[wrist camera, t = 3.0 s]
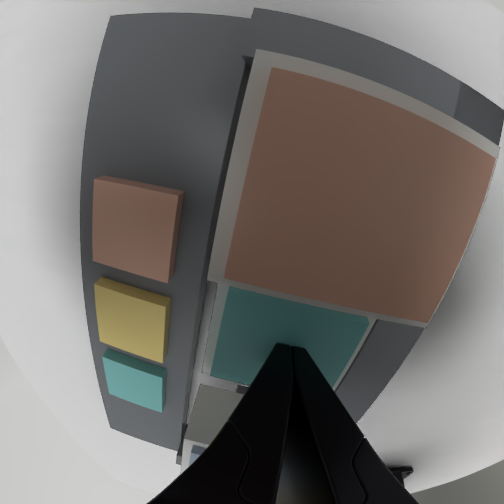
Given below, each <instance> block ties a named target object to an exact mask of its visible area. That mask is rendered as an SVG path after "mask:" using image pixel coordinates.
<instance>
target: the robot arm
mask: <svg viewBox="0 0 504 504" xmlns="http://www.w3.org/2000/svg"><path fill="white" fill-rule="evenodd" d="M411 473H413V468H412V467H410V468H400V469H388V468H387V467H386V465H385V464H384V463H383V462H382V460H381V459H380V458H379V456H378V455H377V453H376V452H375V451H374V449H373V448H372V446H371V445H370V443H369V442H368V441H367V439H366V438H364V435H363V433H362V432H361V430H360V429H359V427H358V426H357V424H356V423H355V421H354V420H353V418H352V417H351V416H350V414H349V413H348V411H347V410H346V408H345V407H344V405H343V404H342V402H341V401H340V399H339V398H338V396H337V395H336V393H335V392H334V390H333V389H332V387H331V386H330V384H329V383H328V381H327V380H326V378H325V377H324V375H323V374H322V372H321V371H320V369H319V368H318V366H317V365H316V363H315V362H314V360H313V359H312V357H311V356H310V354H309V353H308V351H307V350H306V349H305V348H303V347H298V346H290V345H288V344H283V343H276V344H275V345H274V347H273V349H272V350H271V352H270V354H269V355H268V357H267V359H266V360H265V362H264V364H263V365H262V367H261V368H260V370H259V372H258V373H257V375H256V377H255V378H254V380H253V381H252V383H251V384H250V386H249V388H248V389H247V391H246V392H245V394H244V395H243V397H242V399H241V400H240V402H239V403H238V405H237V406H236V408H235V409H234V411H233V412H232V414H231V415H230V417H229V418H228V420H227V422H225V424H224V425H223V427H222V428H221V430H220V431H219V433H218V434H217V435H216V437H215V438H214V439H213V441H212V442H211V443H210V445H209V446H208V447H207V448H206V449H205V450H204V451H203V452H202V454H201V455H200V456H199V457H198V458H197V459H196V460H195V461H194V462H193V463H192V464H191V465H190V466H189V467H188V468H187V469H186V470H185V471H184V472H183V473H182V474H180V475H179V476H178V477H177V478H176V479H175V480H174V481H173V482H172V483H171V484H170V485H169V486H167V487H166V488H165V489H164V490H163V491H162V492H161V493H160V494H158V495H157V496H156V497H155V498H153V499H152V500H151V501H150V502H148V503H147V504H419V503H418V502H417V501H416V500H415V499H414V498H413V497H412V495H411V494H410V493H409V492H408V491H407V490H406V489H405V486H404V481H403V479H404V478H406V477H407V476H409V475H410V474H411Z"/></svg>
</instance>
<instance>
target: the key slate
mask: <svg viewBox="0 0 504 504" xmlns="http://www.w3.org/2000/svg"><path fill="white" fill-rule="evenodd" d="M248 388H249V387H244V386H240V385H238V386H237V390H236V393H235V392H231V391H227V390H222V389H218V388H214V387H210V386H206V385H202V384H200V387H199V390H198V393H197V397H196V400H195V403H194V407H193V410H192V413H191V417H190V420H189V423H188V427H187V430H186V434H185V437H184V443H183V452H182V462H181V472H180V474H182V473H183V472H184V471H185V470H186V469H187V468H188V467H189V466H190V465H191V464H192V463H193V462H194V461H195V460H196V459H197V458H198V457H199V456H200V455H201V454H202V452H203V451H204V450H205V449H206V448H207V447H208V446H209V445H210V443H211V442H212V441H213V439H214V438H215V437H216V435H217V434H218V433H219V431H220V430H221V428H222V427H223V425H224V424H225V422H227V420H228V418H229V417H230V415H231V414H232V412H233V411H234V409H235V408H236V406H237V405H238V403H239V402H240V400H241V399H242V397H243V395H244V394H245V392H246V391H247V389H248Z"/></svg>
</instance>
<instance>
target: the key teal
mask: <svg viewBox="0 0 504 504" xmlns="http://www.w3.org/2000/svg"><path fill="white" fill-rule="evenodd" d="M375 321H376V319H375V318H370V317H365V316H360V315H355V314H350V313H345V312H341V311H336V310H331V309H326V308H322V307H317V306H313V305H308V304H304V303H299V302H295V301H290V300H286V299H282V298H277V297H273V296H269V295H265V294H261V293H256V292H252V291H248V290H244V289H240V288H236V287H232V286H228V285H224V284H220V283H218V286H217V291H216V296H215V301H214V307H213V312H212V317H211V323H210V328H209V333H208V339H207V344H206V350H205V356H204V361H203V367H202V373H206V374H210V376H213V377H217V378H222V379H226V380H230V381H234V382H239V383H243V384H248V385H250V384H251V383H252V381H253V380H254V378H255V377H256V375H257V373H258V372H259V370H260V368H261V367H262V365H263V364H264V362H265V360H266V359H267V357H268V355H269V354H270V352H271V350H272V349H273V347H274V345H275V344H276V343H283V344H288V345H290V346H298V347H303V348H305V349H306V350H307V351H308V353H309V354H310V356H311V357H312V359H313V360H314V362H315V363H316V365H317V366H318V368H319V369H320V371H321V372H322V374H323V375H324V377H325V378H326V380H327V381H328V383H329V384H330V386H331V387H332V389H333V390H334V391H335V389H336V388H337V386H338V384H339V383H340V381H341V380H342V378H343V377H344V375H345V373H346V372H347V370H348V368H349V367H350V365H351V363H352V362H353V360H354V358H355V357H356V355H357V353H358V352H359V350H360V348H361V346H362V345H363V343H364V341H365V339H366V337H367V336H368V334H369V332H370V330H371V328H372V326H373V325H374V323H375Z"/></svg>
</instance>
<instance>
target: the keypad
mask: <svg viewBox="0 0 504 504" xmlns="http://www.w3.org/2000/svg"><path fill="white" fill-rule="evenodd" d="M256 49H260V50H265V51H271V52H275V53H280V54H285V55H289V56H293V57H298V58H302V59H305V60H309V61H313V62H317V63H320V64H324V65H327V66H331V67H334V68H337V69H340V70H343V71H346V72H349V73H352V74H355V75H358V76H361V77H364V78H366V79H369V80H372V81H374V82H377V83H380V84H382V85H385V86H387V87H390V88H392V89H394V90H397V91H399V92H401V93H404V94H406V95H408V96H410V97H412V98H415V99H417V100H419V101H421V102H423V103H425V104H427V105H429V106H431V107H433V108H435V109H437V110H439V111H441V112H443V113H445V114H446V115H448V116H450V117H452V118H454V119H456V120H457V121H459V122H461V123H463V124H464V125H466V126H468V127H469V128H471V129H473V130H474V131H476V132H478V133H479V134H481V135H482V136H484V137H485V138H487V139H488V140H490V141H491V142H493V143H494V144H496V145H497V146H499V141H500V137H501V132H502V127H503V121H504V110H503V109H501V108H500V107H499V106H497V105H496V104H494V103H493V102H492V101H490V100H489V99H487V98H486V97H484V96H483V95H482V94H480V93H479V92H477V91H476V90H474V89H472V88H471V87H469V86H468V85H466V84H465V83H463V82H461V81H460V80H458V79H456V78H455V77H453V76H451V75H449V74H448V73H446V72H444V71H442V70H441V69H439V68H437V67H435V66H433V65H431V64H429V63H427V62H425V61H423V60H421V59H419V58H417V57H415V56H413V55H411V54H409V53H407V52H405V51H402V50H400V49H398V48H396V47H393V46H391V45H388V44H386V43H384V42H381V41H379V40H376V39H373V38H371V37H368V36H365V35H363V34H360V33H357V32H354V31H351V30H348V29H345V28H342V27H338V26H335V25H332V24H328V23H325V22H321V21H317V20H314V19H310V18H306V17H301V16H297V15H293V14H288V13H283V12H278V11H272V10H266V9H260V8H254V10H253V14H252V17H251V19H249V18H242V17H234V16H224V15H213V14H198V13H142V14H126V15H116V16H110V19H109V23H108V26H107V29H106V33H105V36H104V40H103V43H102V47H101V51H100V55H99V59H98V63H97V68H96V72H95V77H94V82H93V87H92V92H91V98H90V103H89V110H88V116H87V123H86V131H85V139H84V149H83V160H82V174H81V195H80V243H81V264H82V278H83V290H84V300H85V308H86V316H87V323H88V330H89V336H90V342H91V348H92V354H93V359H94V364H95V369H96V374H97V378H98V383H99V387H100V391H101V395H102V399H103V403H104V407H105V410H106V414H107V417H108V421H109V424H110V427H111V428H112V429H115V430H117V431H120V432H122V433H125V434H127V435H130V436H133V437H136V438H138V439H141V440H144V441H147V442H150V443H153V444H156V445H159V446H162V447H165V448H168V449H172V450H175V451H178V453H177V458H176V464H179V465H181V462H182V452H183V443H184V437H185V434H186V430H187V427H188V425H186V420H187V412H188V404H189V396H190V389H191V381H192V374H193V367H194V360H195V353H196V346H197V340H198V333H199V327H200V321H201V314H202V308H203V302H204V296H205V290H206V284H207V276H208V270H209V264H210V259H211V253H212V248H213V242H214V237H215V232H216V226H217V221H218V216H219V211H220V206H221V201H222V196H223V191H224V186H225V181H226V176H227V172H228V167H229V162H230V158H231V153H232V148H233V144H234V139H235V135H236V130H237V126H238V122H239V117H240V113H241V109H242V104H243V100H244V96H245V92H246V88H247V84H248V80H249V76H250V72H251V68H252V64H253V60H254V56H255V52H256ZM423 330H424V328H423V327H417V326H411V325H406V324H401V323H395V322H390V321H385V320H380V319H376V321H375V323H374V325H373V326H372V328H371V330H370V332H369V334H368V336H367V337H366V339H365V341H364V343H363V345H362V346H361V348H360V350H359V352H358V353H357V355H356V357H355V358H354V360H353V362H352V363H351V365H350V367H349V368H348V370H347V372H346V373H345V375H344V377H343V378H342V380H341V381H340V383H339V384H338V386H337V388H336V389H335V391H334V392H335V393H336V395H337V396H338V398H339V399H340V401H341V402H342V404H343V405H344V407H345V408H346V410H347V411H348V413H349V414H350V416H351V417H352V418H353V420H354V421H355V423H357V422H358V420H359V419H360V418H361V417H362V416H363V415H364V413H365V412H366V411H367V410H368V408H369V407H370V406H371V405H372V403H373V402H374V401H375V400H376V398H377V397H378V396H379V394H380V393H381V392H382V391H383V389H384V388H385V387H386V385H387V384H388V382H389V381H390V380H391V378H392V377H393V376H394V374H395V373H396V371H397V370H398V368H399V367H400V366H401V364H402V363H403V361H404V360H405V358H406V357H407V355H408V354H409V352H410V351H411V349H412V347H413V346H414V344H415V343H416V341H417V340H418V338H419V336H420V335H421V333H422V331H423Z"/></svg>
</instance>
